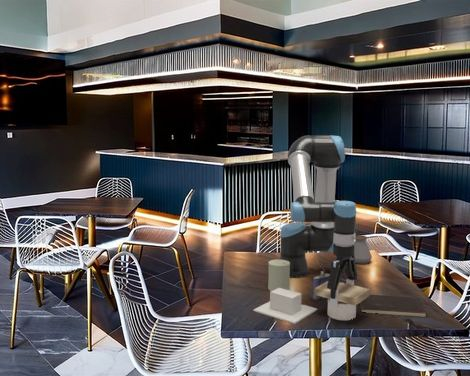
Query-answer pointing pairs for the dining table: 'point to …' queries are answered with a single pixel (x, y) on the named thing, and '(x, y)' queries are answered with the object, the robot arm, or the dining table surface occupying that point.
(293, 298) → the stand
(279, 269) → the can
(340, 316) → the bowl
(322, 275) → the flask
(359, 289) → the wavy beige panel
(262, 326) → the dining table surface
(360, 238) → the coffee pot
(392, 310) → the hardcover book
